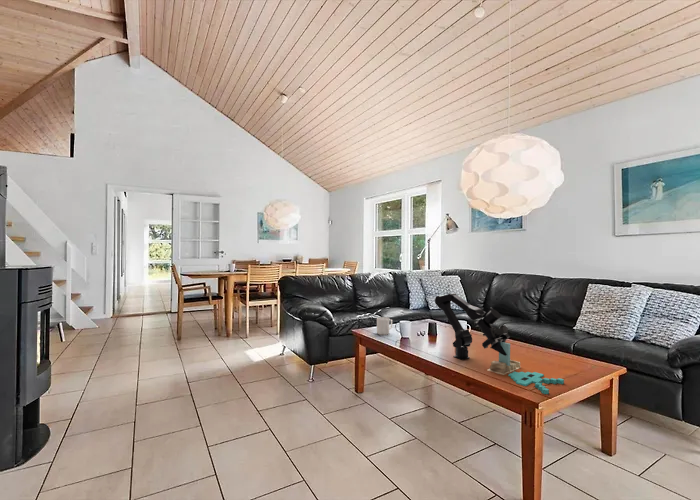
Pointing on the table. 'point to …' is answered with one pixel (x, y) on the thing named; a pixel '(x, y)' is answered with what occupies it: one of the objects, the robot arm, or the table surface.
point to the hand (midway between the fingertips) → (507, 354)
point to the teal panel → (507, 349)
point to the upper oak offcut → (498, 364)
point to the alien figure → (534, 380)
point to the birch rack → (510, 367)
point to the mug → (383, 325)
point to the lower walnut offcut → (499, 369)
